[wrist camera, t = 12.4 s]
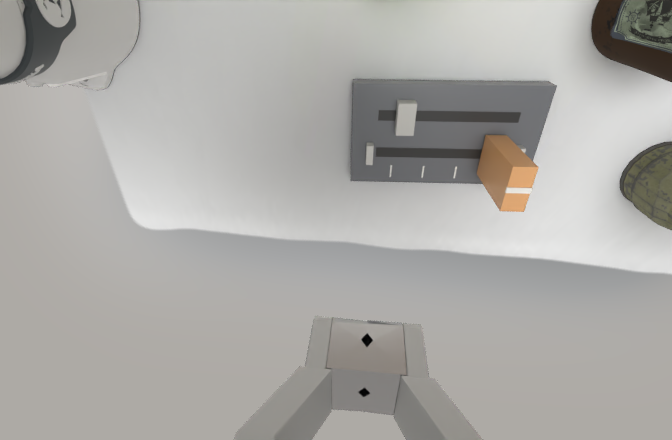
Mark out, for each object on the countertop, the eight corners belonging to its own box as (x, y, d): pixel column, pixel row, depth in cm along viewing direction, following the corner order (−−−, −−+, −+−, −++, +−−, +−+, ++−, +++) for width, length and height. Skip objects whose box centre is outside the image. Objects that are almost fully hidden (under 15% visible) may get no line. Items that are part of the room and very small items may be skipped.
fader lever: (476, 173, 45) (500, 211, 38) (485, 134, 42) (513, 167, 35) (496, 174, 45) (524, 212, 38) (506, 135, 42) (539, 167, 35)
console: (350, 174, 48) (350, 186, 45) (353, 79, 42) (353, 86, 39) (519, 177, 48) (530, 190, 45) (548, 81, 41) (564, 89, 38)
